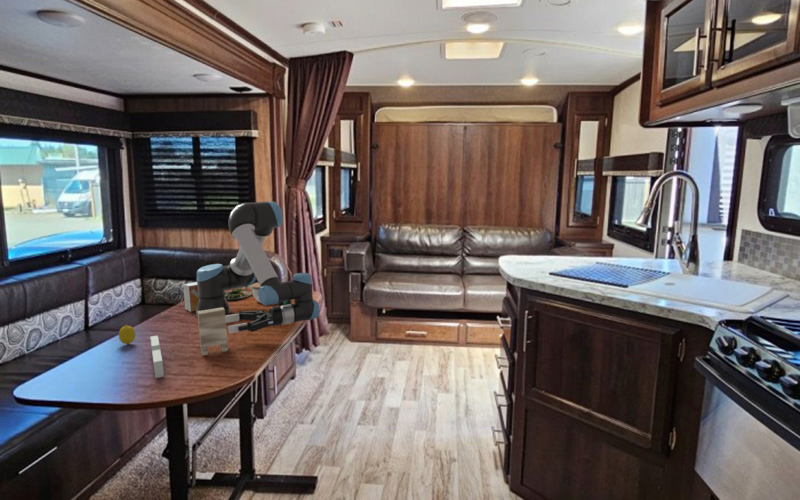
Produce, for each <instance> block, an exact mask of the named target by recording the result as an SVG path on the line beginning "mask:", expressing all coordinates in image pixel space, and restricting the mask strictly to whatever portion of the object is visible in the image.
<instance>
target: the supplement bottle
mask: <svg viewBox="0 0 800 500" xmlns="http://www.w3.org/2000/svg"><path fill="white" fill-rule="evenodd" d="M280 282H281V281H280ZM282 282H283V281H282ZM282 282H281V283H282ZM288 304H293V301H292V300H288V301H284V302H280V303H277V306H279V307H280V306H281V305H288Z"/></svg>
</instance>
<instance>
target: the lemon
mask: <svg viewBox="0 0 800 500" xmlns="http://www.w3.org/2000/svg"><path fill="white" fill-rule="evenodd" d="M118 339H119V341H120V342H121V343H123V344H124V345H125V344H126V345H127V346H128V345H130V344H131V343H133V342H134V341H135V339H136V331H135V329H134V327H133V326H130V325H127V324H125V325H124V326H122V327H121V328H120V329H119V331H118Z"/></svg>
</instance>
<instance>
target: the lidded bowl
mask: <svg viewBox="0 0 800 500" xmlns="http://www.w3.org/2000/svg"><path fill="white" fill-rule="evenodd" d="M260 287H261V286H260V284H259V282H258V281H257V282H254V283H253V284H252V285H251V290H252V291H251V293H252V295H253V297H254V299H255V300H256V301H257V303H259V304H260V303H261V302H260V300H259V296H258V291H259V288H260ZM261 304H262V303H261Z"/></svg>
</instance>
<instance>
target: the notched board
mask: <svg viewBox="0 0 800 500" xmlns="http://www.w3.org/2000/svg"><path fill="white" fill-rule="evenodd" d="M149 338H150V345H151V346H150V347H151V354H152V362H153V370H154V377H155V379H158V378H163V377H165V372H164V364H163V363H164V362H163V357H162V351H161V347H160V345H161V344H160V341H159V339H160V338H159V335H152V336H150V337H149Z"/></svg>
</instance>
